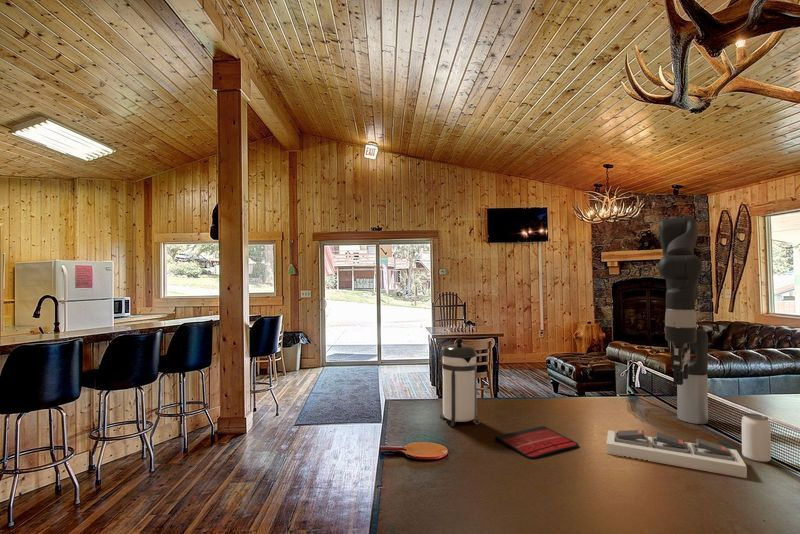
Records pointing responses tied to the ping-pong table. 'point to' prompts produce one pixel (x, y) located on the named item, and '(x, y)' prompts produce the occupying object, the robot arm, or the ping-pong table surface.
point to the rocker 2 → (670, 440)
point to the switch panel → (677, 455)
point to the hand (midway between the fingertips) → (681, 381)
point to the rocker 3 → (712, 447)
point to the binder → (536, 442)
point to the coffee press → (459, 383)
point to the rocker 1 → (631, 434)
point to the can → (756, 437)
